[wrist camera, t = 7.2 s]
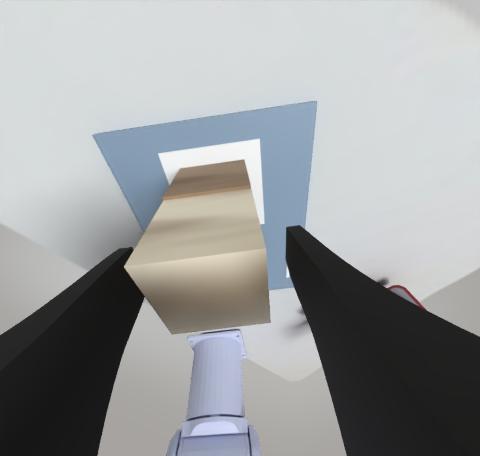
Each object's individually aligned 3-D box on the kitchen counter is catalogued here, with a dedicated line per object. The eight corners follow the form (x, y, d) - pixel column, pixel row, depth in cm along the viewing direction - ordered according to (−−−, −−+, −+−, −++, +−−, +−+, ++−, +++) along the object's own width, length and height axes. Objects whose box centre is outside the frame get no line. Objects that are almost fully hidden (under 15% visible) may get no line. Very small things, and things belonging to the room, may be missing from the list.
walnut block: (250, 214, 16) (257, 251, 12) (196, 221, 16) (187, 260, 12) (244, 159, 13) (250, 185, 9) (180, 168, 13) (162, 197, 9)
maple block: (257, 253, 12) (270, 322, 8) (188, 262, 12) (171, 334, 9) (251, 188, 9) (266, 248, 6) (163, 200, 10) (123, 267, 6)
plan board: (297, 283, 22) (299, 287, 22) (181, 297, 23) (180, 301, 22) (314, 101, 12) (317, 101, 11) (96, 133, 12) (91, 135, 12)
